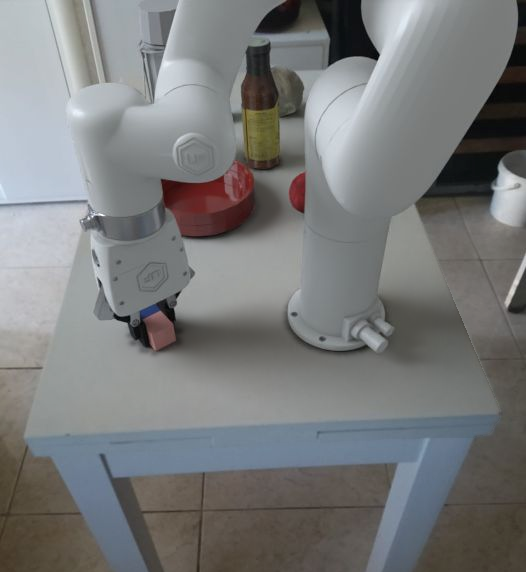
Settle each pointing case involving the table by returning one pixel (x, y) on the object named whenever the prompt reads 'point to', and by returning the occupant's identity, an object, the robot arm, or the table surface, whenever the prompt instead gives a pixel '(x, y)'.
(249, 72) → the sauce bottle
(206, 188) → the bowl
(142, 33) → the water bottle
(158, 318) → the eraser
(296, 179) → the onion
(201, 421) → the table surface
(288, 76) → the garlic bulb
